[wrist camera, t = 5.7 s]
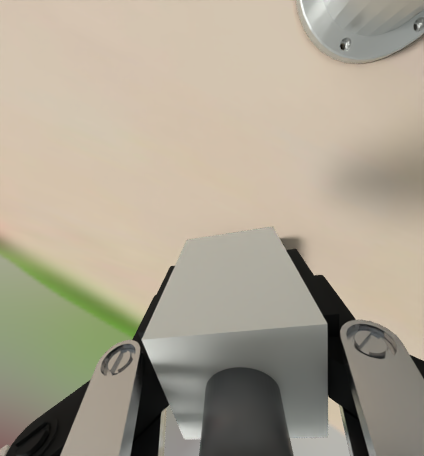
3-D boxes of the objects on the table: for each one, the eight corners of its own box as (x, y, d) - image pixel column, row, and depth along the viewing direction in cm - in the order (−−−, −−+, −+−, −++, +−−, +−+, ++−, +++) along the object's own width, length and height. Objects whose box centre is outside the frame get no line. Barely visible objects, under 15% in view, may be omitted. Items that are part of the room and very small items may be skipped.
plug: (272, 226, 10) (396, 447, 3) (280, 298, 12) (372, 566, 4) (186, 239, 11) (92, 448, 3) (204, 306, 12) (166, 552, 5)
